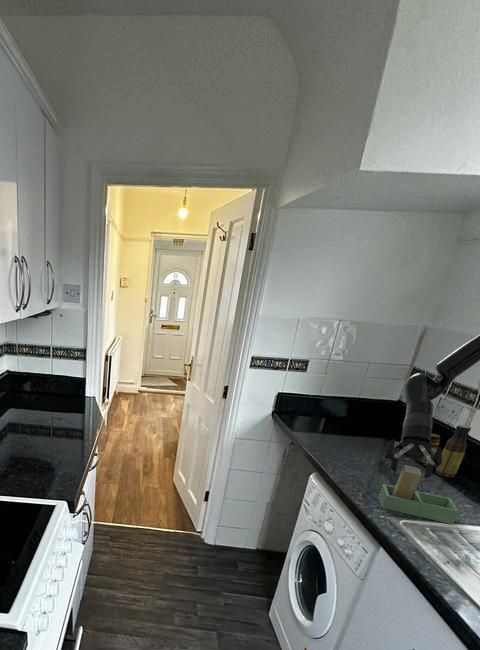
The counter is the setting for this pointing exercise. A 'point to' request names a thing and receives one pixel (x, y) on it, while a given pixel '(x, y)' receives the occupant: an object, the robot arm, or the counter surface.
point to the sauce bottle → (454, 452)
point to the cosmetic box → (407, 482)
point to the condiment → (433, 443)
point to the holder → (420, 505)
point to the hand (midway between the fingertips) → (410, 473)
